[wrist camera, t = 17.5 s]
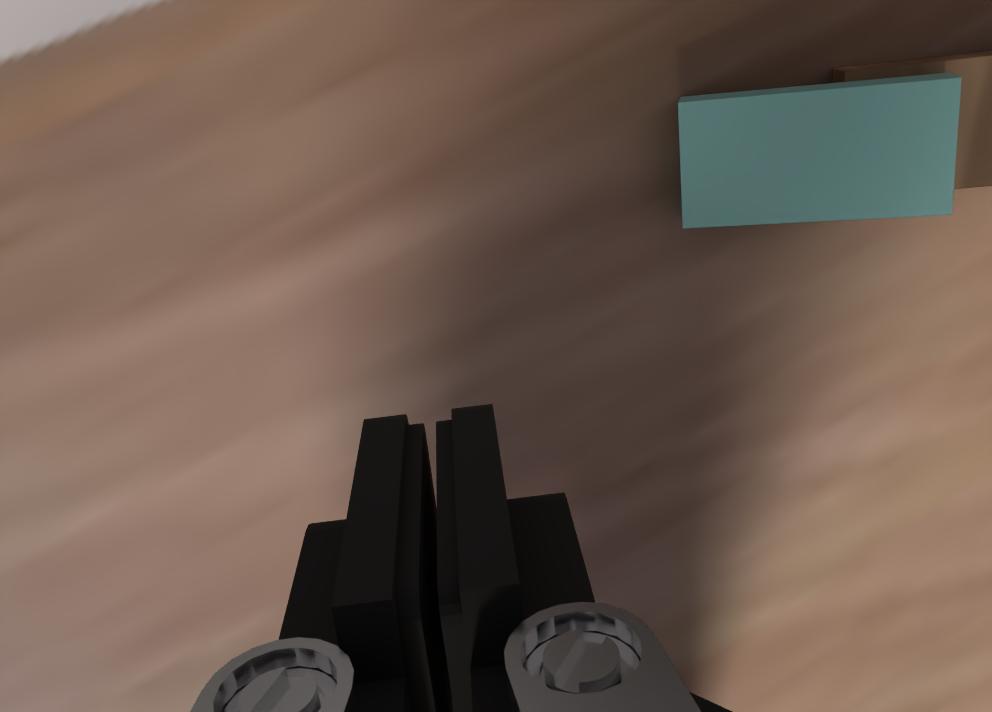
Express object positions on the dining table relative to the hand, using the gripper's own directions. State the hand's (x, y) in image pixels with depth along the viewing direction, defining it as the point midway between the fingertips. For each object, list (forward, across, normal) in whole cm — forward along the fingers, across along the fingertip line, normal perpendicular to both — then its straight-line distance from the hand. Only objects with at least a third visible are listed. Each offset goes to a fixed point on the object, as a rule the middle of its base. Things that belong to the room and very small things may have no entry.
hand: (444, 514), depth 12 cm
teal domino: (+26, -10, 0) cm, 28 cm away
